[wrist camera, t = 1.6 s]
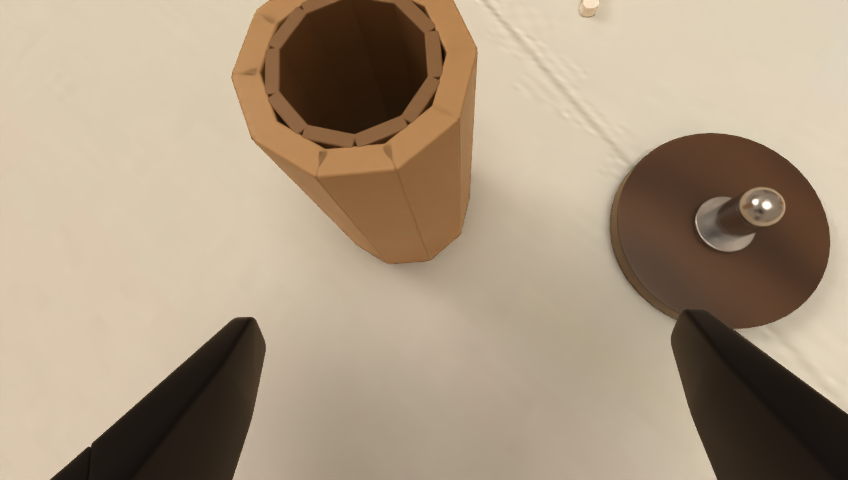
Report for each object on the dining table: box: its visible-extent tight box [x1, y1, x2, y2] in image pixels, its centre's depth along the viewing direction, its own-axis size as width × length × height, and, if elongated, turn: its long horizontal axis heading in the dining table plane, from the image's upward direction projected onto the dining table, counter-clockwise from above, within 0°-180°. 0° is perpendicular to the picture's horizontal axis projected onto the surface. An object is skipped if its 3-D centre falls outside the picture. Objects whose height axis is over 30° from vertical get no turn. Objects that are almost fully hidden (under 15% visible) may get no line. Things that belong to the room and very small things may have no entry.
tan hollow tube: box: [231, 0, 478, 264], centre depth 19 cm, size 7×7×13 cm
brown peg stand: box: [610, 133, 830, 329], centre depth 22 cm, size 10×10×5 cm
